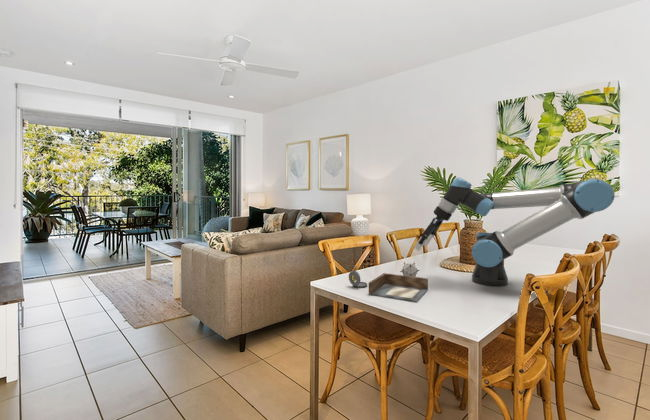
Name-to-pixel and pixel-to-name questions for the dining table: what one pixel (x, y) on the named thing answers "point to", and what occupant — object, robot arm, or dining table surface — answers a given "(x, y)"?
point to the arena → (399, 287)
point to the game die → (409, 270)
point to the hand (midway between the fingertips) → (420, 247)
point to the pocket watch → (357, 278)
